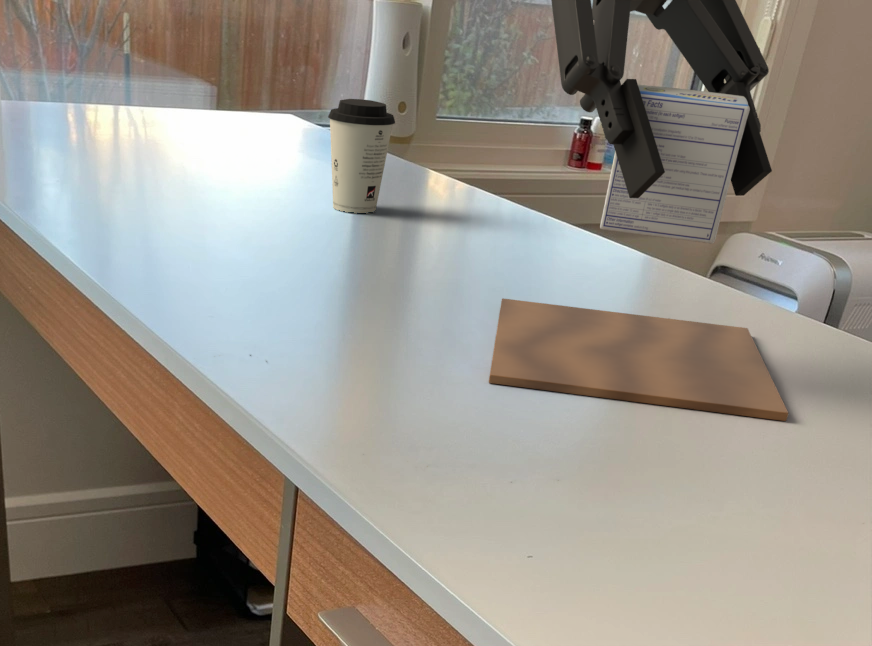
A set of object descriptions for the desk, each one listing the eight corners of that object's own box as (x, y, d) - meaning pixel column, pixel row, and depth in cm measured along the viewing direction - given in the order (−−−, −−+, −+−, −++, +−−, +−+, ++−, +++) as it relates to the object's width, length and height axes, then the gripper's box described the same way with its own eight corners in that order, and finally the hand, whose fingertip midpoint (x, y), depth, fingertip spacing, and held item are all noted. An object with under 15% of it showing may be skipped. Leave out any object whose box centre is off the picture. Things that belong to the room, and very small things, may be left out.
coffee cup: (391, 218, 117) (401, 110, 111) (324, 214, 116) (332, 105, 110) (382, 203, 122) (392, 100, 116) (319, 199, 121) (325, 95, 116)
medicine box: (712, 233, 80) (748, 95, 74) (714, 247, 76) (752, 103, 71) (601, 218, 81) (629, 82, 76) (598, 231, 77) (627, 88, 72)
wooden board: (745, 335, 91) (747, 327, 90) (786, 421, 74) (788, 412, 74) (500, 305, 92) (501, 298, 92) (488, 383, 76) (489, 374, 76)
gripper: (689, -65, 83) (777, 214, 82) (446, -89, 75) (539, 222, 73) (761, -154, 77) (860, 147, 75) (503, -192, 68) (607, 147, 66)
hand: (701, 184), depth 74 cm, fingers closed on medicine box, 9 cm apart
